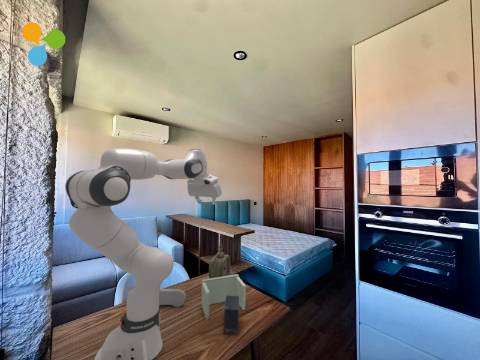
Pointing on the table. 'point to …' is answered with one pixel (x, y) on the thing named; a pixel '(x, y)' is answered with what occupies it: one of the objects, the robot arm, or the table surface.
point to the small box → (231, 315)
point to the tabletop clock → (219, 265)
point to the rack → (222, 291)
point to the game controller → (172, 297)
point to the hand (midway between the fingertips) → (206, 203)
